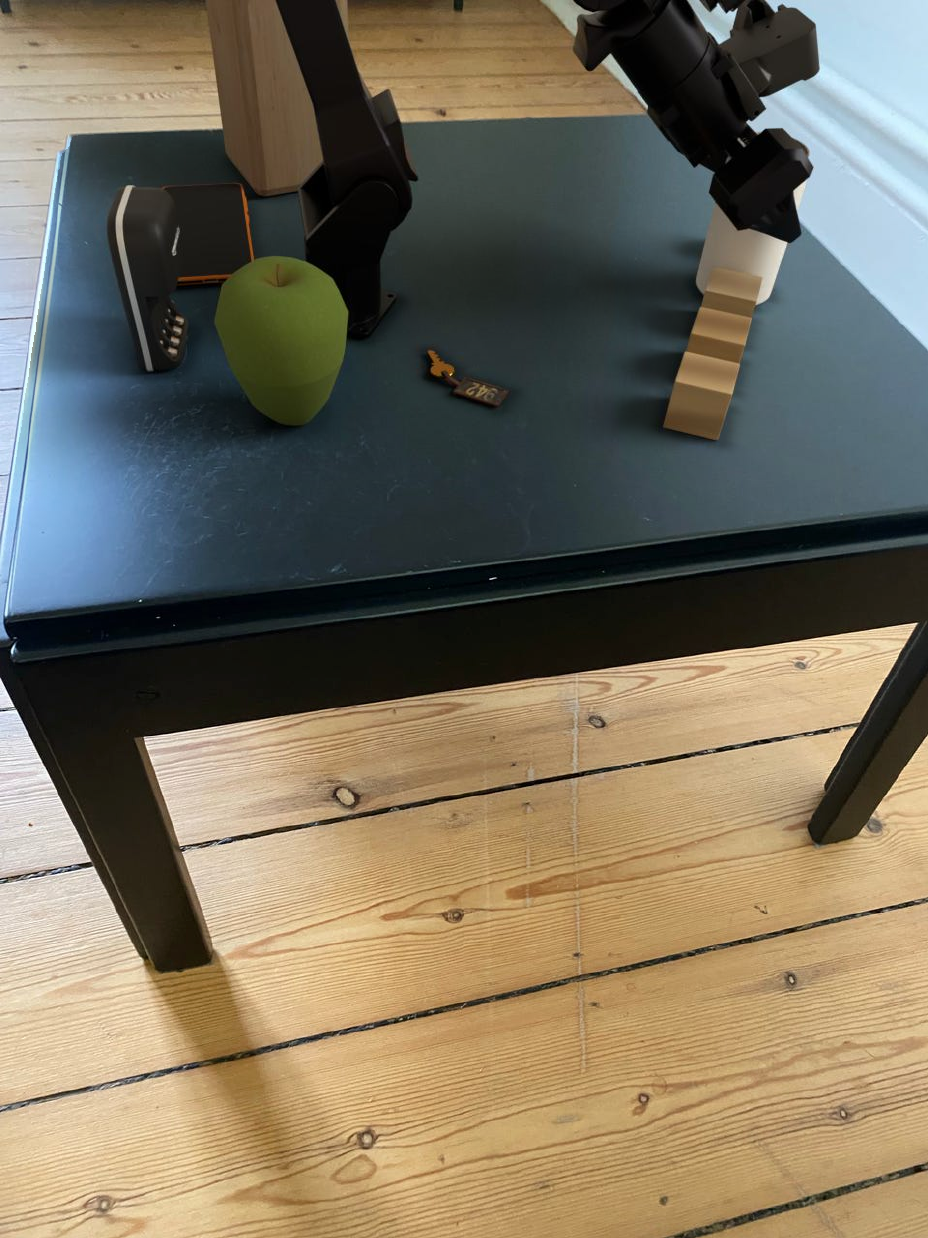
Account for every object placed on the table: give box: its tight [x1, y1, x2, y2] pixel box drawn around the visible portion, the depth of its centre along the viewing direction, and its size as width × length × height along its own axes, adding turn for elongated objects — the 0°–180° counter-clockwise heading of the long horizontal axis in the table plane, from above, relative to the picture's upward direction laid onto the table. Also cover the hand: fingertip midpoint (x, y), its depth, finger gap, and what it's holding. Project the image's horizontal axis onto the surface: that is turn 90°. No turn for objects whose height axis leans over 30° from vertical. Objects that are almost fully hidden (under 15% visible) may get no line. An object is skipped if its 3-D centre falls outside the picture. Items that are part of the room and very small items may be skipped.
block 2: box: [685, 306, 753, 364], centre depth 72 cm, size 4×4×4 cm
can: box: [695, 131, 810, 307], centre depth 77 cm, size 6×6×12 cm
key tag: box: [427, 349, 510, 408], centre depth 71 cm, size 8×3×1 cm, turn 51°
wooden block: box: [205, 0, 350, 197], centre depth 85 cm, size 10×10×20 cm
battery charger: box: [106, 184, 190, 372], centre depth 68 cm, size 7×4×11 cm, turn 4°
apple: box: [213, 255, 348, 427], centre depth 63 cm, size 9×8×12 cm
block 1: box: [700, 267, 763, 319], centre depth 76 cm, size 4×4×4 cm
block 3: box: [662, 351, 741, 441], centre depth 68 cm, size 4×4×4 cm
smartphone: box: [161, 182, 255, 286], centre depth 83 cm, size 8×17×1 cm, turn 12°
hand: (771, 210), depth 77 cm, fingers open, 9 cm apart
